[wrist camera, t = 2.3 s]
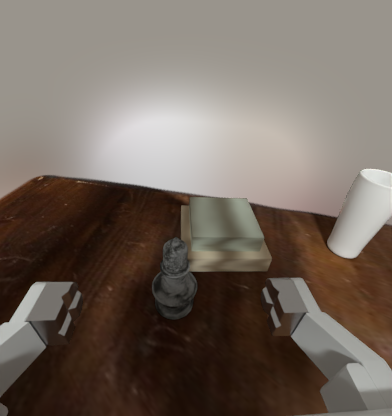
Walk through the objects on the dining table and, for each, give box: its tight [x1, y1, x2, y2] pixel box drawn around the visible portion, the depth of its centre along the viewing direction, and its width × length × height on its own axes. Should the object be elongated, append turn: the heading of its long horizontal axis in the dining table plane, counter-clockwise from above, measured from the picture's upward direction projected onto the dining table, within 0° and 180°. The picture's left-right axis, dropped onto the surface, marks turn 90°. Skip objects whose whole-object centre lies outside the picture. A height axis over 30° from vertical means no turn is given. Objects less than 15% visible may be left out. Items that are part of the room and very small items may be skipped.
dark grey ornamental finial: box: [152, 237, 197, 319], centre depth 28 cm, size 6×6×12 cm
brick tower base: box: [181, 197, 272, 272], centre depth 40 cm, size 14×14×6 cm
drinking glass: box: [327, 169, 392, 258], centre depth 38 cm, size 7×7×15 cm
